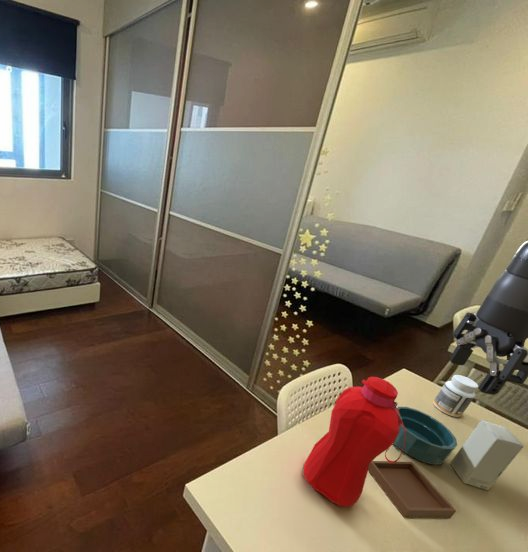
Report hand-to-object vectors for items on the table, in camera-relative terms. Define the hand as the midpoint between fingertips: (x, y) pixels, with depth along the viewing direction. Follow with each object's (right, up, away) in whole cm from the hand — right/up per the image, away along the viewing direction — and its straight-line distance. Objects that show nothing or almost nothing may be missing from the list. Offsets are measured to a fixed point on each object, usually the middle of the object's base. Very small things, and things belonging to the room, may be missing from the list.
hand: (469, 376), depth 60 cm
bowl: (+1, -20, +13) cm, 24 cm away
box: (+7, -23, +7) cm, 25 cm away
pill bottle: (+21, -17, +25) cm, 37 cm away
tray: (-10, -23, +2) cm, 25 cm away
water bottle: (-25, -22, +2) cm, 33 cm away
